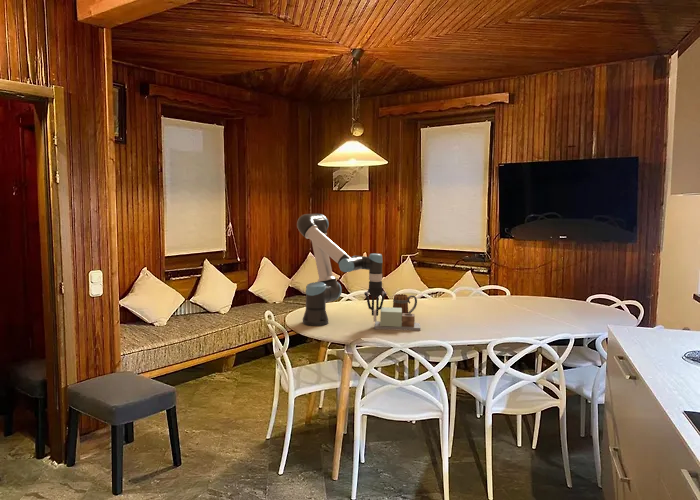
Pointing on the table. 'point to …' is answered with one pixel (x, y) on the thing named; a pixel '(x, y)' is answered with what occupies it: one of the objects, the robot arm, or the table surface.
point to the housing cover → (391, 317)
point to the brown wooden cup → (408, 319)
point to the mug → (403, 302)
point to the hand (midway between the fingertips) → (374, 321)
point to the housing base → (416, 327)
